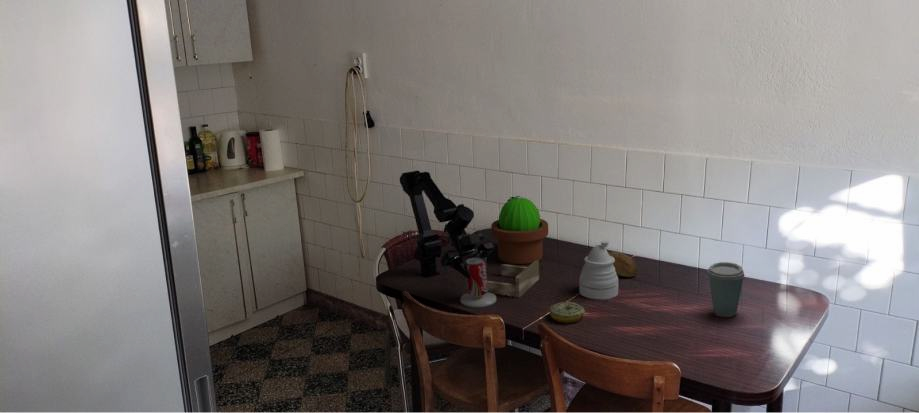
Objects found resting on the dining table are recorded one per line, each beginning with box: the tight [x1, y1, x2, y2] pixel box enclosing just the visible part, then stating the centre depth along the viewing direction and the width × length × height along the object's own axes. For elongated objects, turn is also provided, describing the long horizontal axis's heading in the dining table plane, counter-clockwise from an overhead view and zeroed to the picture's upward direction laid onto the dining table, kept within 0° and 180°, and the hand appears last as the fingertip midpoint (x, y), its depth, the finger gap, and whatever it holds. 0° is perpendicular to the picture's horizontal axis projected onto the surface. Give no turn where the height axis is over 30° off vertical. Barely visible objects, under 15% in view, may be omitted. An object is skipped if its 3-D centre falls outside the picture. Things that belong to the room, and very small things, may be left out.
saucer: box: [460, 292, 497, 308], centre depth 232 cm, size 12×12×1 cm
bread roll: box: [608, 251, 638, 278], centre depth 249 cm, size 10×15×8 cm, turn 48°
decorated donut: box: [548, 301, 586, 324], centre depth 215 cm, size 10×11×4 cm
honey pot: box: [578, 240, 619, 300], centre depth 232 cm, size 13×13×18 cm
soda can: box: [464, 256, 489, 297], centre depth 231 cm, size 7×7×12 cm
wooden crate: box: [487, 260, 540, 298], centre depth 243 cm, size 14×18×7 cm
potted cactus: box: [490, 195, 549, 265], centre depth 269 cm, size 22×22×25 cm
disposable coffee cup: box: [706, 261, 745, 318], centre depth 211 cm, size 11×11×15 cm
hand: (478, 275), depth 230 cm, fingers closed on soda can, 7 cm apart
